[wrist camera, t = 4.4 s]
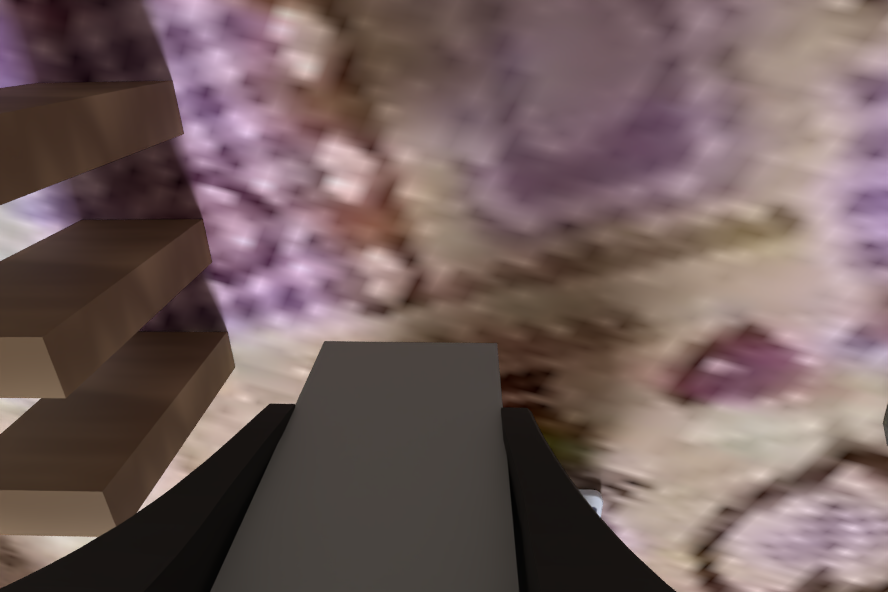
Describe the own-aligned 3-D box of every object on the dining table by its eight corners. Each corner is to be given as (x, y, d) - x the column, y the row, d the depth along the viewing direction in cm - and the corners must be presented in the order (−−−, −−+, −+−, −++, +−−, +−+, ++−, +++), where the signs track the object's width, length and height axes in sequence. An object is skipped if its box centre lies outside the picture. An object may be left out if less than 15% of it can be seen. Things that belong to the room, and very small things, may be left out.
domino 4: (495, 396, 16) (521, 771, 8) (330, 394, 16) (195, 756, 8) (496, 343, 15) (528, 699, 7) (324, 341, 16) (167, 685, 7)
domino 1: (183, 133, 20) (-8, 208, 12) (54, 135, 20) (-220, 209, 12) (172, 80, 19) (-42, 121, 11) (38, 82, 19) (-267, 124, 11)
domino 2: (212, 262, 22) (65, 398, 14) (95, 262, 22) (-114, 396, 14) (202, 218, 21) (42, 337, 13) (81, 219, 22) (-148, 336, 14)
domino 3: (235, 367, 24) (120, 537, 16) (128, 366, 25) (-37, 534, 17) (227, 331, 24) (102, 491, 16) (117, 331, 24) (-62, 488, 16)
